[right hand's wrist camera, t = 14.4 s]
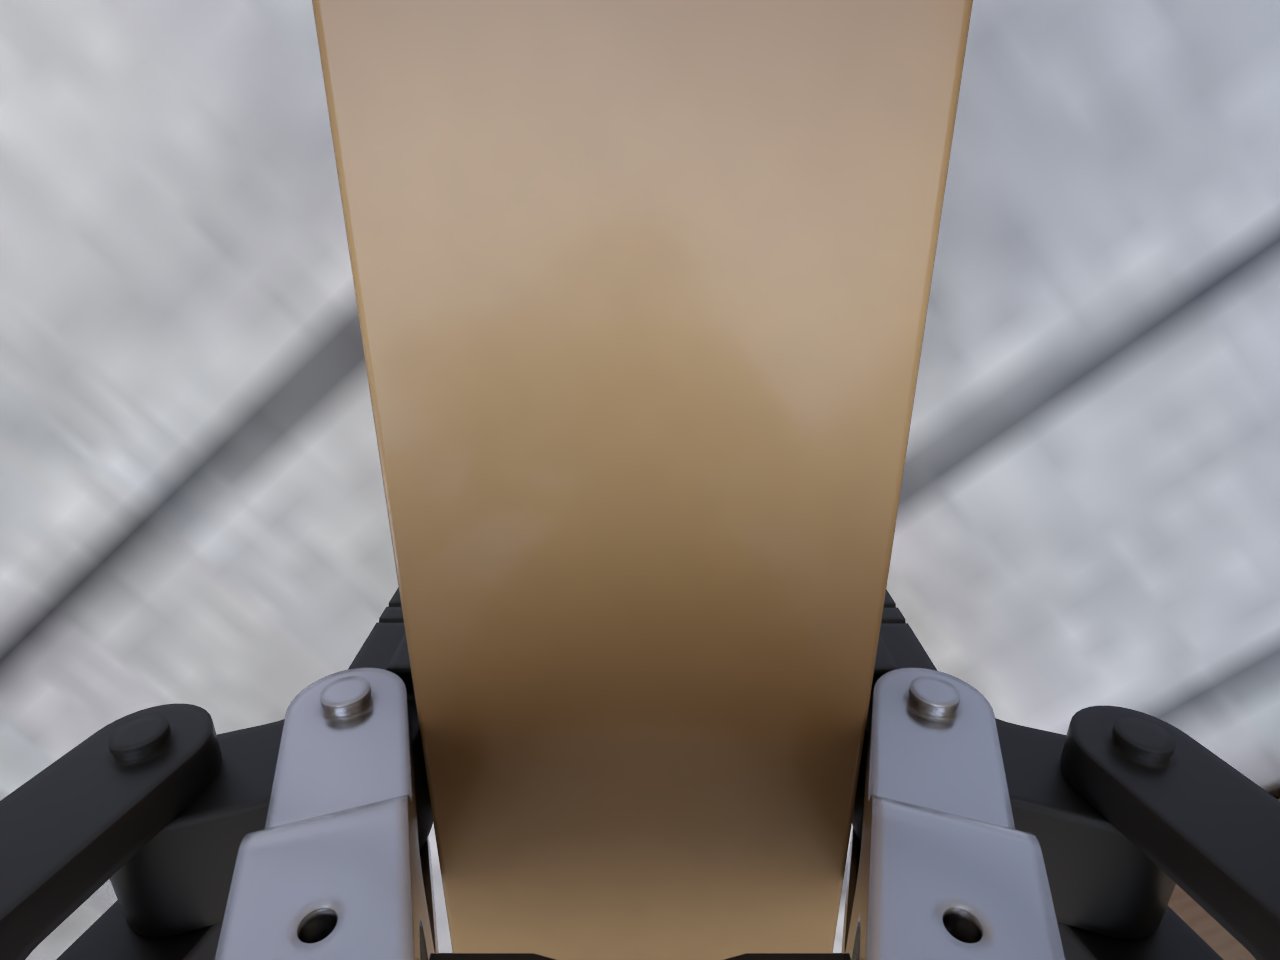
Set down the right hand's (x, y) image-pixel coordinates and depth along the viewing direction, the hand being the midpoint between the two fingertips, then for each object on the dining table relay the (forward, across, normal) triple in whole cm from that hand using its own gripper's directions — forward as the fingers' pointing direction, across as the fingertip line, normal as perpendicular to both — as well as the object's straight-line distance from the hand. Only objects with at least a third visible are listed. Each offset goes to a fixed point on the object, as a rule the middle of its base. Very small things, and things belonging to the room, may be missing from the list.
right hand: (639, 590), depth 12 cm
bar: (+3, 0, -9) cm, 10 cm away
